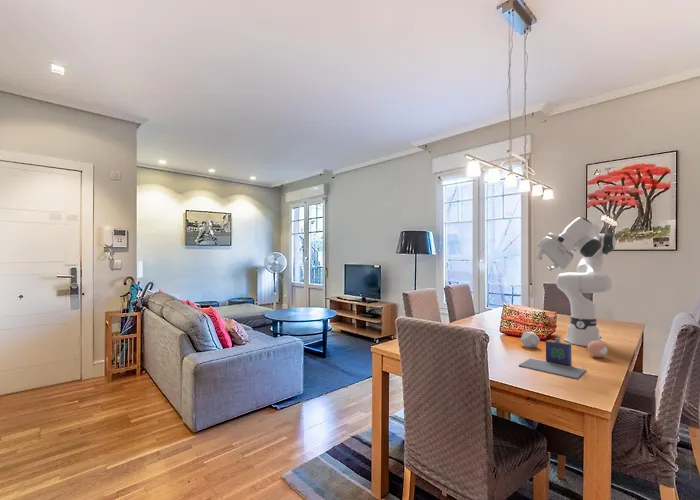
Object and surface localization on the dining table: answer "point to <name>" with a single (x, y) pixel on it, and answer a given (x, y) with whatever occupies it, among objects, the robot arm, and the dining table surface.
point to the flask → (558, 352)
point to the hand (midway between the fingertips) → (543, 264)
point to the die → (530, 339)
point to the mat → (553, 368)
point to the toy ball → (597, 349)
